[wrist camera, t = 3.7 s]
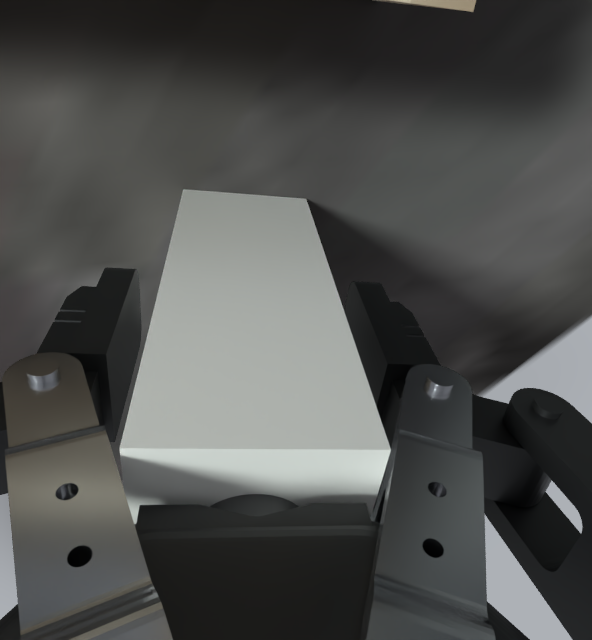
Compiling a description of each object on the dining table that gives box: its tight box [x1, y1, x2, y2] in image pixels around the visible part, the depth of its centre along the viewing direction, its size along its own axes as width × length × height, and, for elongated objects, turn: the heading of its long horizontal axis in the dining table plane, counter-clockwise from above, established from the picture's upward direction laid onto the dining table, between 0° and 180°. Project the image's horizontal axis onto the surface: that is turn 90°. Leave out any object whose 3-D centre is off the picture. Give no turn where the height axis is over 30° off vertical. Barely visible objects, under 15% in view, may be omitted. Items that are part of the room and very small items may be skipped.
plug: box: [120, 189, 391, 524], centre depth 11 cm, size 4×4×13 cm
